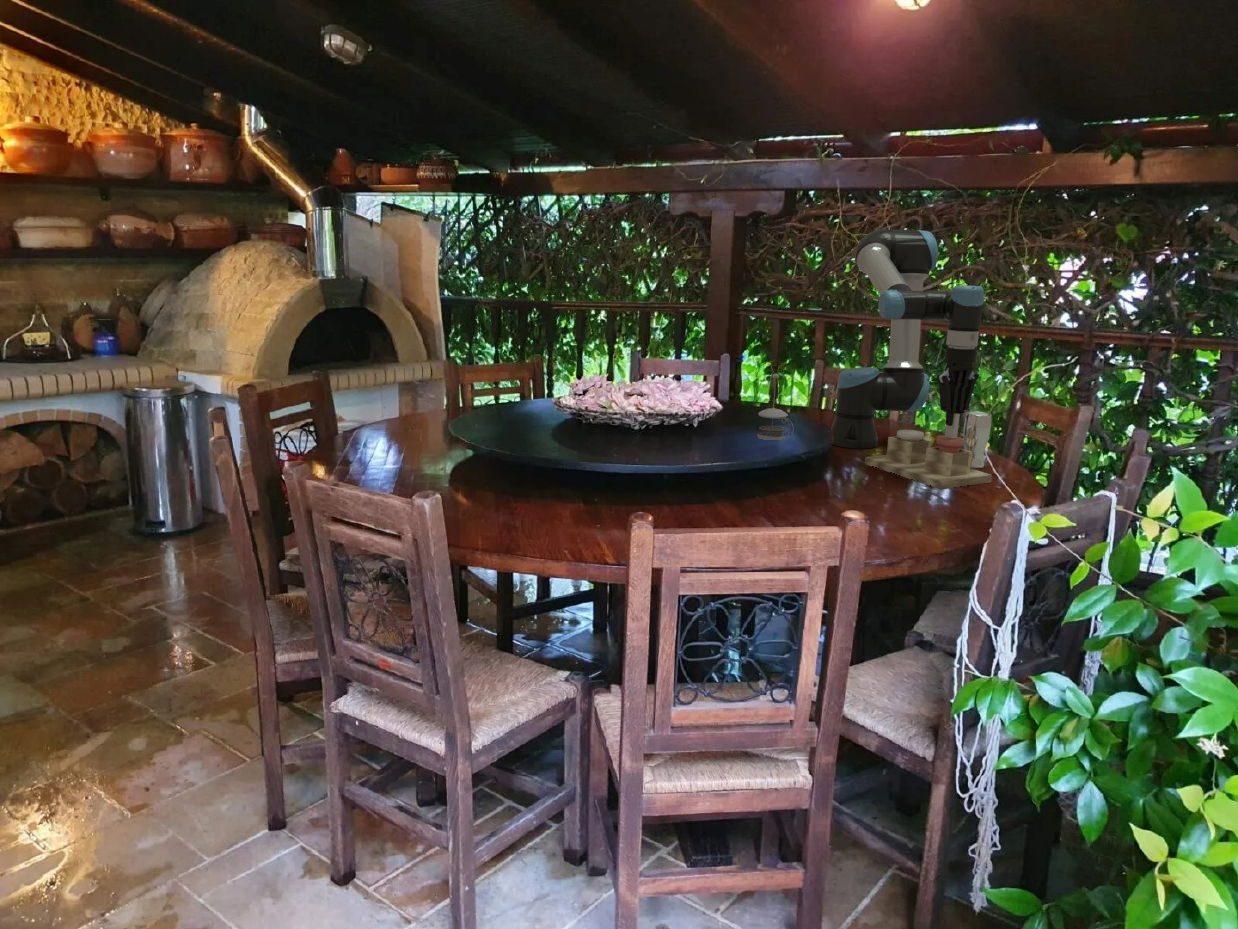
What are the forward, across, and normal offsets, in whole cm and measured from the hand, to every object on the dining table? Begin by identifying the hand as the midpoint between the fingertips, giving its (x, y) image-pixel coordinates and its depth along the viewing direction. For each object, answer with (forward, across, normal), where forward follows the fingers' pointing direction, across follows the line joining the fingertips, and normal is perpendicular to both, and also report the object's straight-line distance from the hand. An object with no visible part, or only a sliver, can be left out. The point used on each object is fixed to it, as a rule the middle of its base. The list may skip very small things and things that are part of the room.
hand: (950, 437), depth 231 cm
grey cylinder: (+8, 0, +14) cm, 16 cm away
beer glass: (+12, +19, +8) cm, 24 cm away
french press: (+12, -32, +33) cm, 47 cm away
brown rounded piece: (+7, 0, 0) cm, 7 cm away
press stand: (+11, 0, +7) cm, 13 cm away
